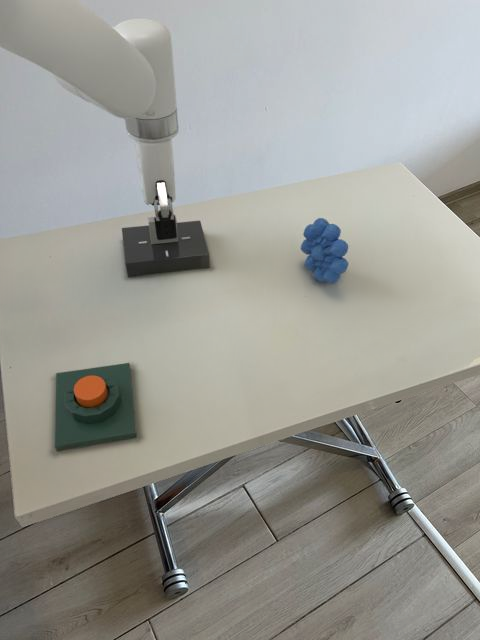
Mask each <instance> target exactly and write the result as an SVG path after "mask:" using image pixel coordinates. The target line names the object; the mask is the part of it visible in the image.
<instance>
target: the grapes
mask: <svg viewBox="0 0 480 640" xmlns="http://www.w3.org/2000/svg"><path fill="white" fill-rule="evenodd" d="M341 232H342V230H341V228H340V227H339V226H338V225H337V224H336V223H330V222H329V221H328V220H327V219H326V218H323V217H318V218H316V219H315V220H314V221H313V223H311V224H308V225H306V226H305V228H304V229H303V237H304V238H305V239H304V240H302V243H301V245H300V250H301V252H302V253H303V254H304V255H307V257H306V258H305V261H304V267H305V268H306V269H308V270H310V271H314V272H313V278H314V279H315V280H316V281H318V282H322V283H323V282H327V283H329V284H336V283H338V281H339V280H340V278H341V275H342V274H344V273H346V271H347V270H348V268H349V261H348V259H347V258H345V256H346V255H347V253H348V251H349V244H348V243H347V241H346V240H343V239H340V237H341V234H342V233H341Z"/></svg>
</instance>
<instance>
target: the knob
mask: <svg viewBox="0 0 480 640" xmlns="http://www.w3.org/2000/svg"><path fill="white" fill-rule="evenodd" d="M173 215H174V216H175V222H176V232H177V223H178V221H177V216H176V214H174V213H173ZM155 217H156V216H150V217H147V223H148V225H149V230H150V237H151V244H160V243H170V242H178V232H177V238H174V239H165V240H158V239H157V235H156V228H155V220H154V218H155Z"/></svg>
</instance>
